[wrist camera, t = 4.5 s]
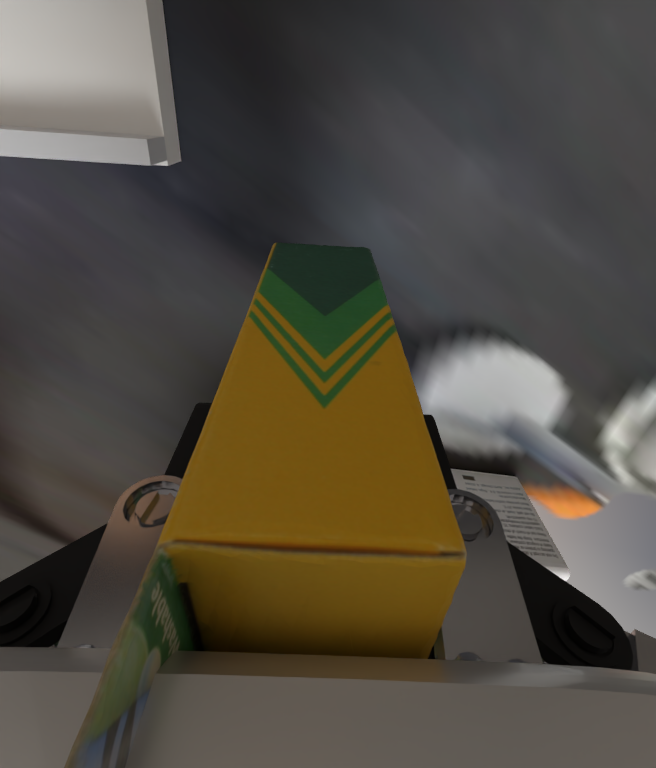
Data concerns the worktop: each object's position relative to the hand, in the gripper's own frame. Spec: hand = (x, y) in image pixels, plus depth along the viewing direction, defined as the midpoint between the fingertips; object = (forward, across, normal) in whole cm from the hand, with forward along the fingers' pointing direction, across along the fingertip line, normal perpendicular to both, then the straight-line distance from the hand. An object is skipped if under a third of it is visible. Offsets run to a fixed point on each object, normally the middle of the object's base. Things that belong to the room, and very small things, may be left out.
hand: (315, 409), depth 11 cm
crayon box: (+3, 0, 0) cm, 3 cm away
